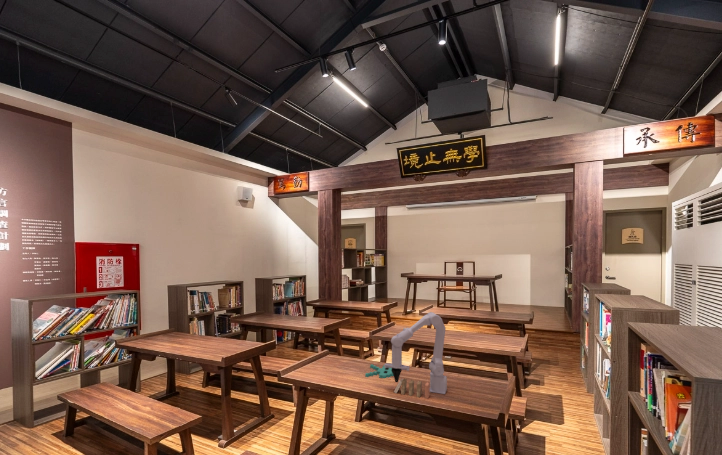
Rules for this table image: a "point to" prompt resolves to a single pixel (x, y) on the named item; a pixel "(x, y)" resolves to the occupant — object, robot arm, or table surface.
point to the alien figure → (380, 372)
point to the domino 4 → (427, 390)
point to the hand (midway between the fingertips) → (396, 381)
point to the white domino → (398, 386)
